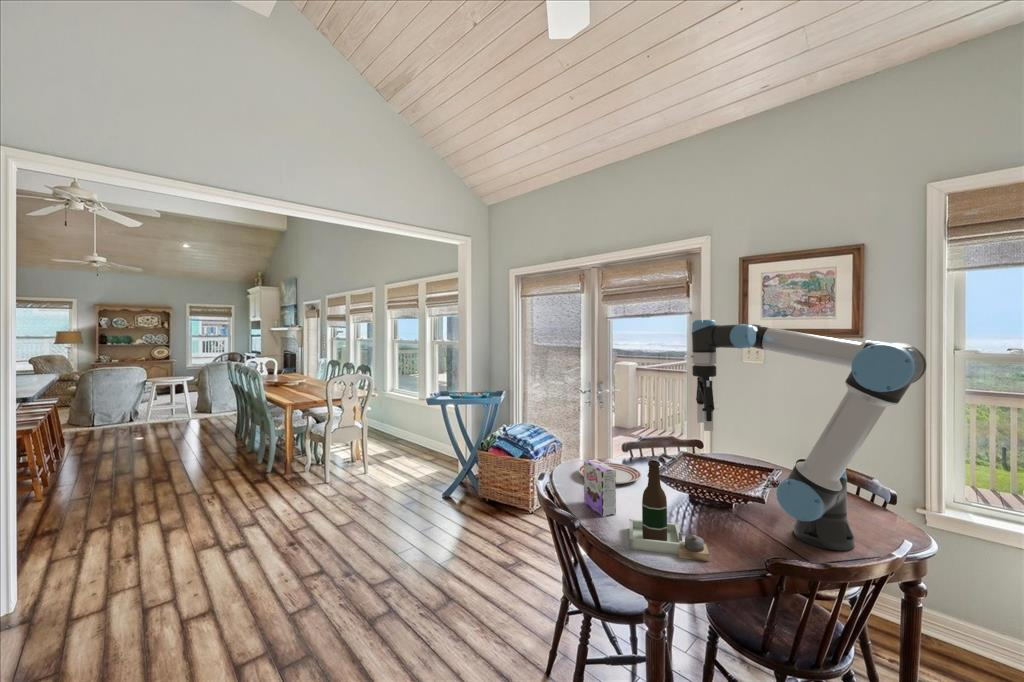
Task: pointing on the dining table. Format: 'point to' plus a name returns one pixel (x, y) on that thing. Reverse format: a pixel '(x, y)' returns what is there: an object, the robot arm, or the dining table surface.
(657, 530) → the beer bottle
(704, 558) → the grey stone on stand
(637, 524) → the tray
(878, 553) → the dining table surface
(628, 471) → the dinner plate
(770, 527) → the dining table surface
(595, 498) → the candy box
